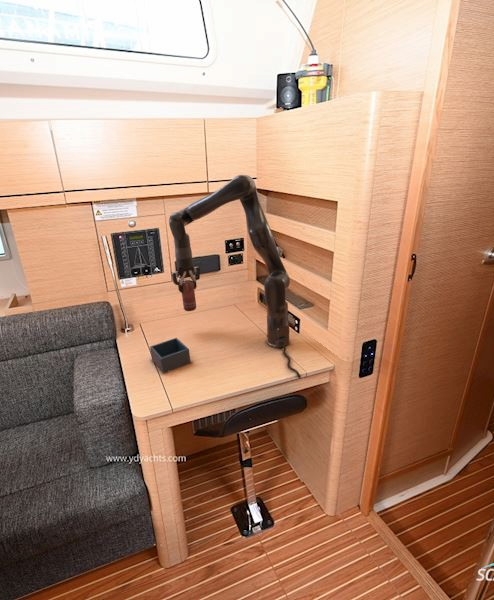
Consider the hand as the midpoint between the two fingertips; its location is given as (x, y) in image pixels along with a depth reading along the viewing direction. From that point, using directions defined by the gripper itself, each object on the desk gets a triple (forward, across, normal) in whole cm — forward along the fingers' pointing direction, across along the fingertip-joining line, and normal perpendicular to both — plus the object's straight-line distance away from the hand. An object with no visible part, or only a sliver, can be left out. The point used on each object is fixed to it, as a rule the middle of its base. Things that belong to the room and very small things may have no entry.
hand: (188, 290), depth 159 cm
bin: (+23, -20, -17) cm, 35 cm away
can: (+10, 0, 0) cm, 10 cm away
